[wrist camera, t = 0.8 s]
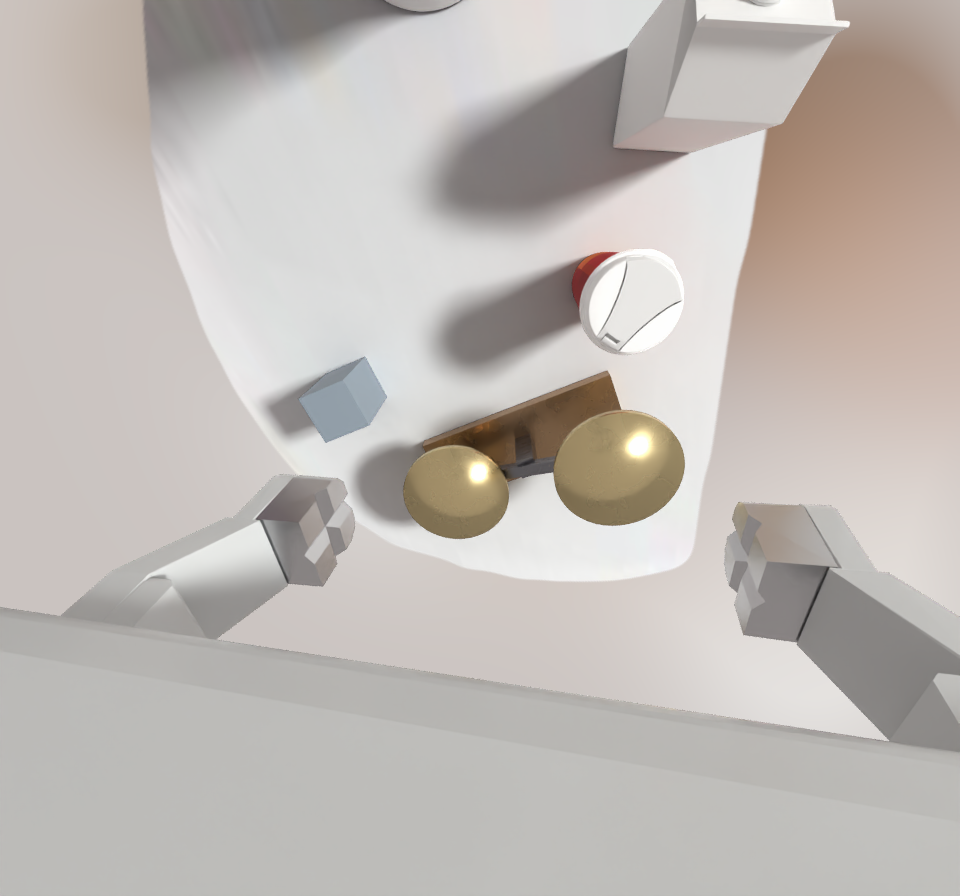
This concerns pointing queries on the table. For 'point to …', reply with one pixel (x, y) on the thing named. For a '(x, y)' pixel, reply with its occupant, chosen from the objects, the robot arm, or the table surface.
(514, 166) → the table surface
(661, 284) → the paper cup
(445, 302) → the table surface
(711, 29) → the milk carton
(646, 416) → the balance
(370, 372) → the block
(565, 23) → the table surface
